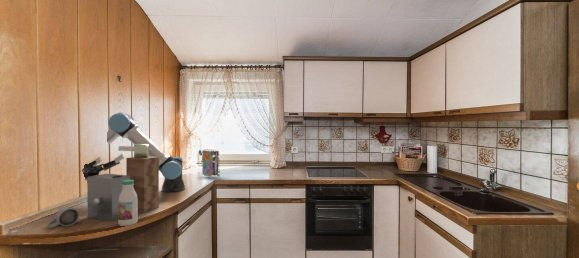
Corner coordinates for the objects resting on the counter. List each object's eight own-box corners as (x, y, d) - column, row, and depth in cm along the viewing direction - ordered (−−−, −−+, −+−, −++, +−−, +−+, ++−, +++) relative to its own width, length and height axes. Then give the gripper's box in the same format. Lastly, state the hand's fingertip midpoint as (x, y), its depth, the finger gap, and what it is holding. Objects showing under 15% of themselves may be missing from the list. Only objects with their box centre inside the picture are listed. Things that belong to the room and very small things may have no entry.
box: (195, 176, 248) (195, 149, 247) (201, 175, 253) (201, 148, 252) (214, 179, 233) (214, 150, 233) (219, 178, 238) (219, 150, 238)
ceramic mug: (73, 219, 133) (73, 204, 132) (79, 223, 128) (79, 207, 128) (44, 226, 124) (44, 209, 124) (50, 230, 119) (49, 213, 119)
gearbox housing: (106, 211, 146) (106, 172, 145) (130, 214, 141) (129, 174, 140) (83, 218, 134) (83, 176, 134) (108, 222, 129) (107, 178, 129)
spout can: (125, 155, 159) (125, 143, 159) (151, 156, 153) (151, 144, 153) (114, 156, 152) (114, 144, 152) (141, 158, 146) (141, 145, 146)
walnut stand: (141, 205, 157) (141, 156, 157) (158, 207, 154) (158, 156, 153) (126, 210, 148) (126, 157, 148) (144, 212, 144) (144, 158, 144)
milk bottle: (128, 219, 133) (128, 178, 133) (141, 221, 131) (141, 179, 130) (114, 225, 125) (114, 181, 125) (127, 227, 123) (127, 182, 123)
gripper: (110, 176, 175) (133, 160, 169) (68, 184, 151) (92, 166, 145) (106, 165, 176) (128, 149, 170) (63, 171, 152) (87, 153, 146)
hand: (112, 157), depth 157 cm, fingers open, 13 cm apart
